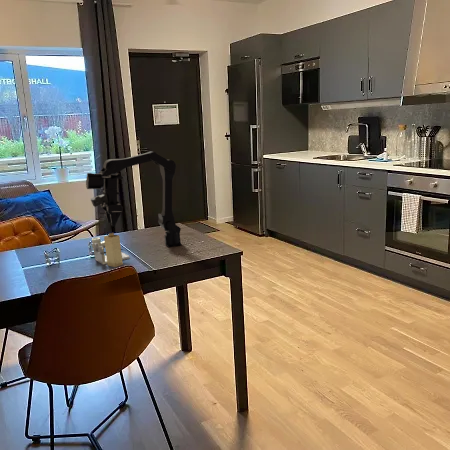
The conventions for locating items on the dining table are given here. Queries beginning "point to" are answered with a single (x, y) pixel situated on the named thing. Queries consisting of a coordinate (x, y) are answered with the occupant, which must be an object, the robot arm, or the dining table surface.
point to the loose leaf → (113, 250)
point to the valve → (97, 240)
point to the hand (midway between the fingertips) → (111, 224)
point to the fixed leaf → (100, 254)
